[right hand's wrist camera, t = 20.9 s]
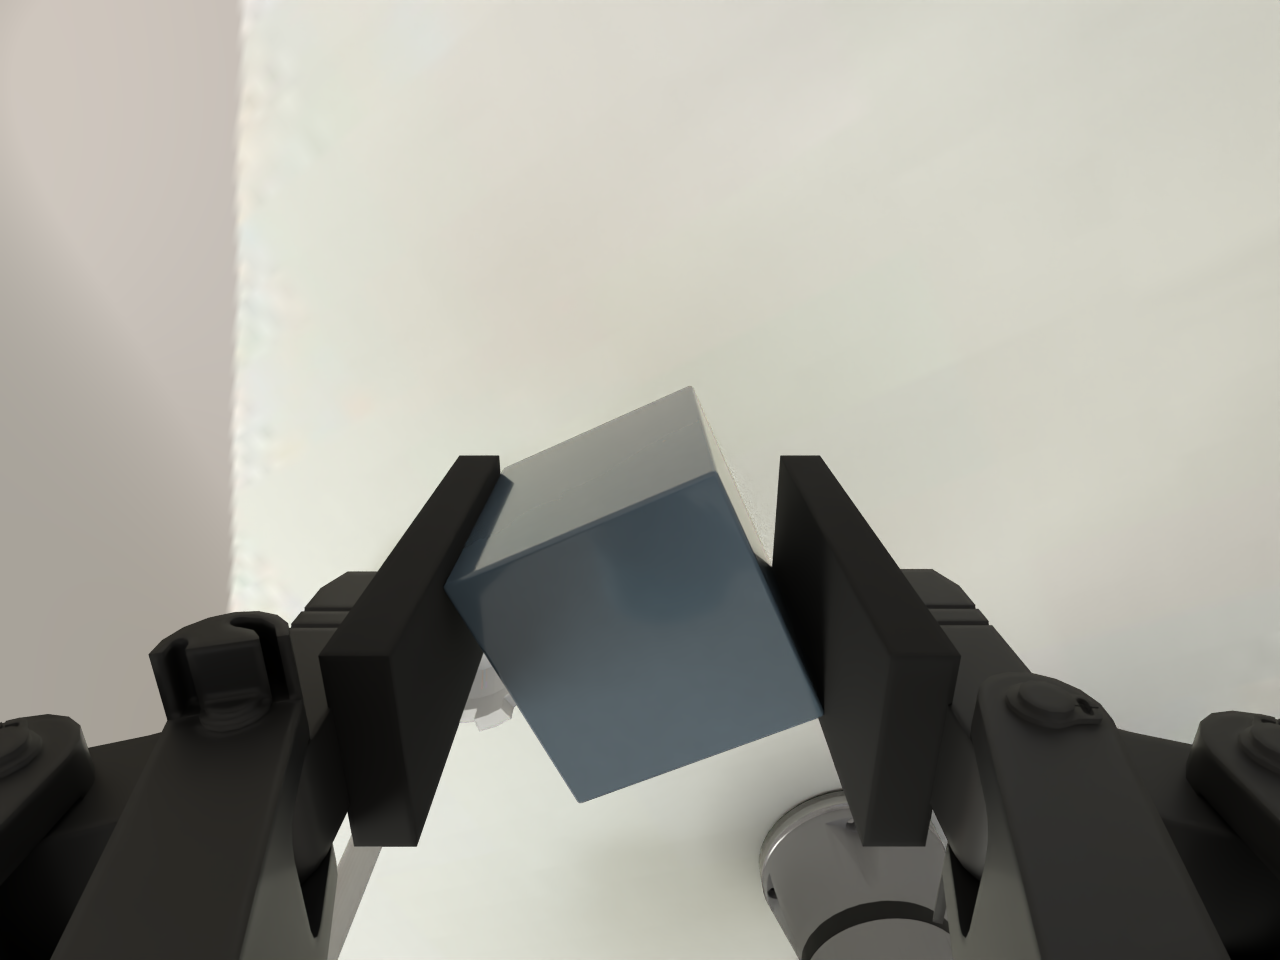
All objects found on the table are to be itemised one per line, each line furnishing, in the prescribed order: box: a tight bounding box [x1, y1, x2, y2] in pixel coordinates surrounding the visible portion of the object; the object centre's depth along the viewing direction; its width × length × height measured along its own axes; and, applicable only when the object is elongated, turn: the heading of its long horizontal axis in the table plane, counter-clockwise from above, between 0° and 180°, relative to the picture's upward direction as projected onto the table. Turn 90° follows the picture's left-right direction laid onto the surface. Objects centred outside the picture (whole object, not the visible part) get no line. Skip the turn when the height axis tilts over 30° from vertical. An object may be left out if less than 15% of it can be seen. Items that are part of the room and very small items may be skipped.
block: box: [443, 386, 824, 803], centre depth 12 cm, size 4×4×5 cm
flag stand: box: [327, 653, 516, 960], centre depth 38 cm, size 13×13×30 cm
